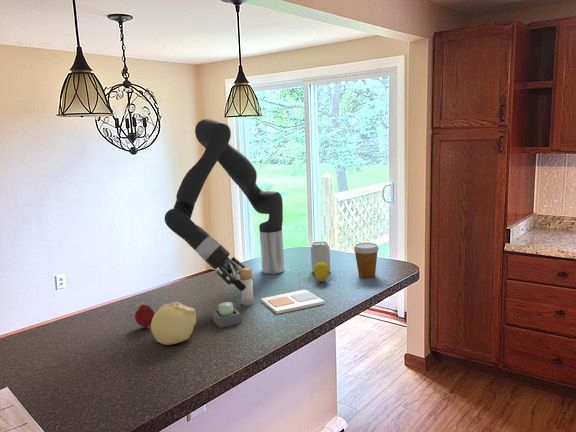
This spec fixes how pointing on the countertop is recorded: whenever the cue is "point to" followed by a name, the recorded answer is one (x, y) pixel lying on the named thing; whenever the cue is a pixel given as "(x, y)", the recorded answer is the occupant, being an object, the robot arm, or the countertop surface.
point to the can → (320, 254)
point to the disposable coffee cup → (366, 259)
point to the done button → (225, 309)
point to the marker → (247, 286)
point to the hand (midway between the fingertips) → (247, 285)
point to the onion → (144, 315)
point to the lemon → (321, 271)
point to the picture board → (291, 301)
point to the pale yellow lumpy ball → (173, 323)
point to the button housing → (227, 318)
